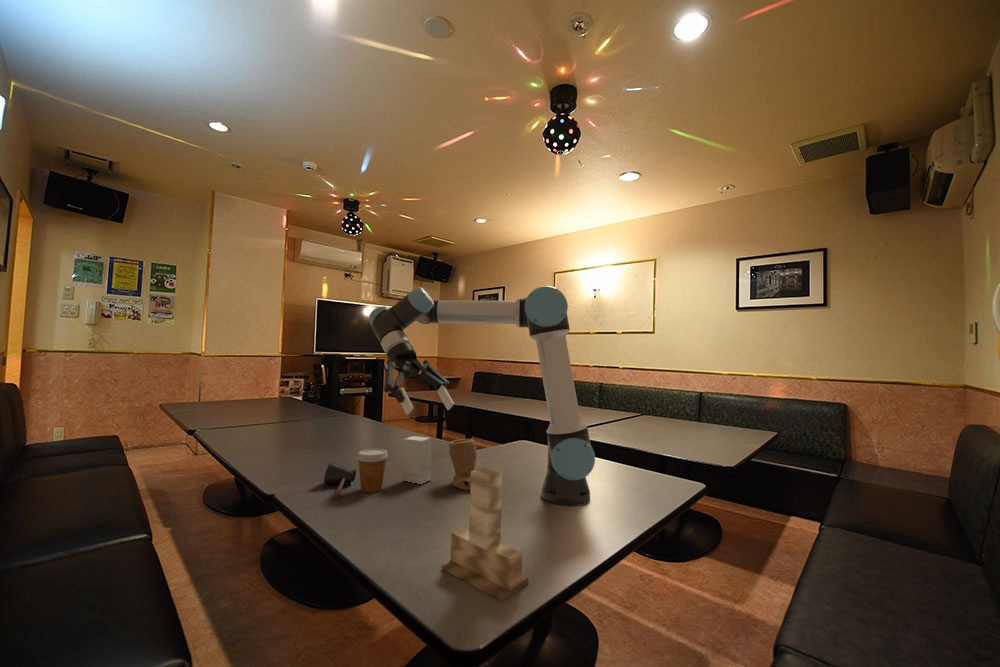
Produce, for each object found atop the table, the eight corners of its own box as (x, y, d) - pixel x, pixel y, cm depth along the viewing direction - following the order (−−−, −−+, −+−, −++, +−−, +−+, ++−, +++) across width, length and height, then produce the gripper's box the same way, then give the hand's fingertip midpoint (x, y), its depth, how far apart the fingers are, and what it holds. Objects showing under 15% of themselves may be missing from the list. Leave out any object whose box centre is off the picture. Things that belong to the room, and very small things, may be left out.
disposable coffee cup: (393, 488, 129) (394, 451, 130) (369, 497, 121) (370, 456, 122) (373, 483, 135) (374, 446, 135) (349, 490, 127) (350, 452, 127)
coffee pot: (330, 479, 136) (355, 483, 137) (307, 505, 118) (336, 510, 119) (333, 457, 136) (358, 462, 137) (311, 481, 118) (341, 486, 119)
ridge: (442, 569, 82) (443, 536, 82) (469, 554, 88) (470, 524, 88) (502, 601, 71) (502, 564, 72) (528, 582, 77) (529, 548, 78)
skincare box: (431, 481, 138) (432, 437, 139) (419, 485, 133) (421, 440, 134) (412, 477, 142) (414, 434, 143) (400, 481, 137) (402, 437, 138)
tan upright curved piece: (449, 477, 143) (451, 434, 144) (483, 477, 143) (484, 435, 144) (444, 491, 128) (445, 444, 129) (481, 492, 128) (482, 445, 129)
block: (484, 535, 83) (486, 466, 84) (500, 541, 80) (502, 471, 81) (468, 542, 80) (471, 471, 80) (485, 549, 77) (487, 475, 78)
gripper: (427, 359, 125) (458, 413, 114) (353, 359, 106) (383, 423, 95) (438, 342, 122) (472, 396, 111) (365, 338, 103) (397, 403, 92)
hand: (431, 409), depth 103 cm, fingers open, 13 cm apart
